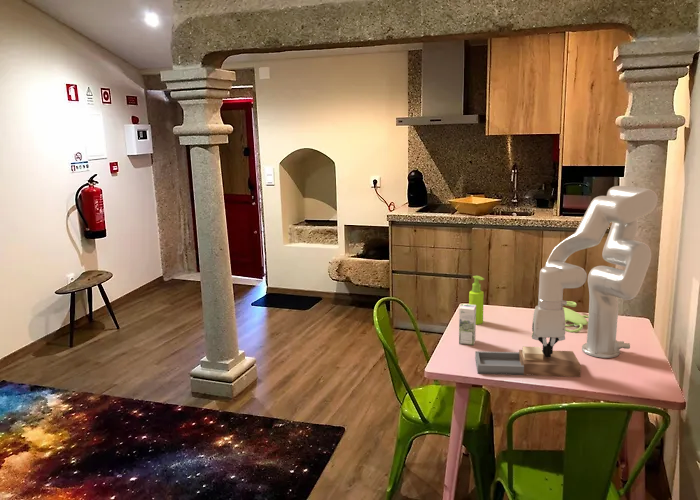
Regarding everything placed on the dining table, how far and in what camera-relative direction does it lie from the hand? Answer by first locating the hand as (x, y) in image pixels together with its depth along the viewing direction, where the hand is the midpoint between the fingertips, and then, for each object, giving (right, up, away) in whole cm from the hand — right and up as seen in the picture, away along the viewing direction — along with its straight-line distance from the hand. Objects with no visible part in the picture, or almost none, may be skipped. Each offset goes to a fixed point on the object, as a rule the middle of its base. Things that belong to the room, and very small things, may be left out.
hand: (547, 355), depth 197 cm
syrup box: (-22, 0, +26) cm, 34 cm away
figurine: (+24, +6, +46) cm, 53 cm away
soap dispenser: (-14, +5, +47) cm, 49 cm away
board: (+1, -5, +1) cm, 5 cm away
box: (-16, -4, +3) cm, 17 cm away
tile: (-5, -1, +1) cm, 5 cm away
